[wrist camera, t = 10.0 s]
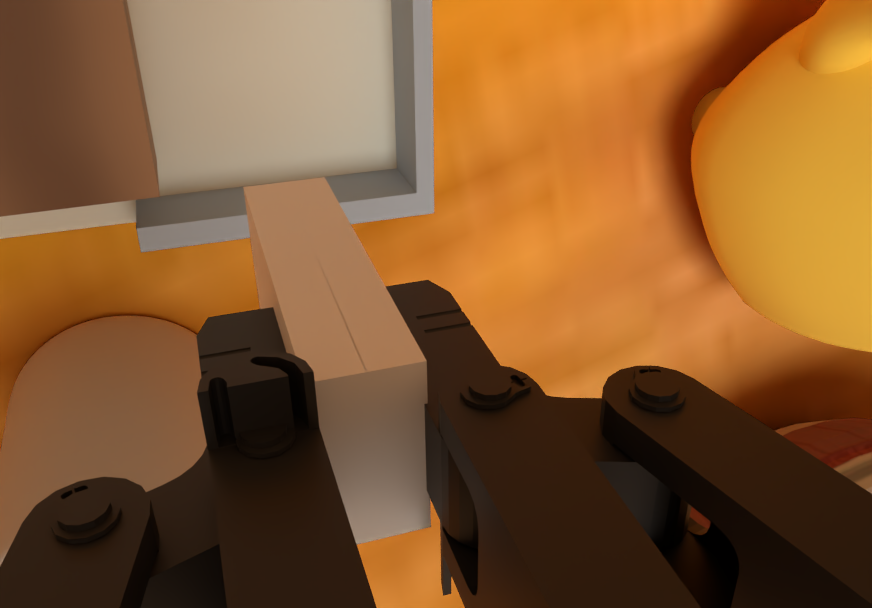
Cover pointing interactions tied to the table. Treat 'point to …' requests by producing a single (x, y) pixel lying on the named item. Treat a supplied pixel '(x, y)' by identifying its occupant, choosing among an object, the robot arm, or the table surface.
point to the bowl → (831, 449)
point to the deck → (273, 113)
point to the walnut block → (71, 107)
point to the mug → (100, 412)
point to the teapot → (796, 177)
